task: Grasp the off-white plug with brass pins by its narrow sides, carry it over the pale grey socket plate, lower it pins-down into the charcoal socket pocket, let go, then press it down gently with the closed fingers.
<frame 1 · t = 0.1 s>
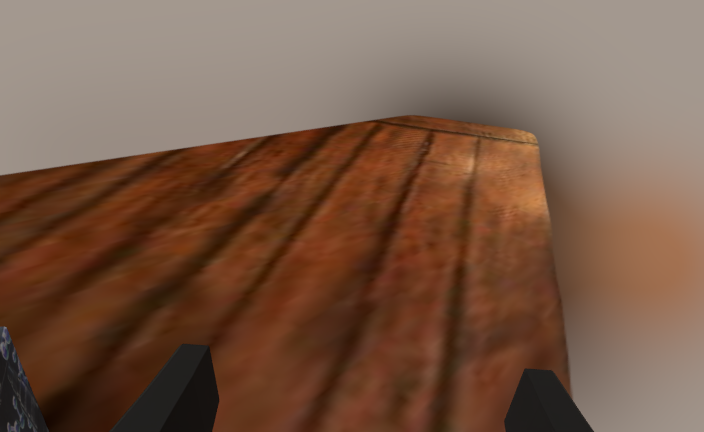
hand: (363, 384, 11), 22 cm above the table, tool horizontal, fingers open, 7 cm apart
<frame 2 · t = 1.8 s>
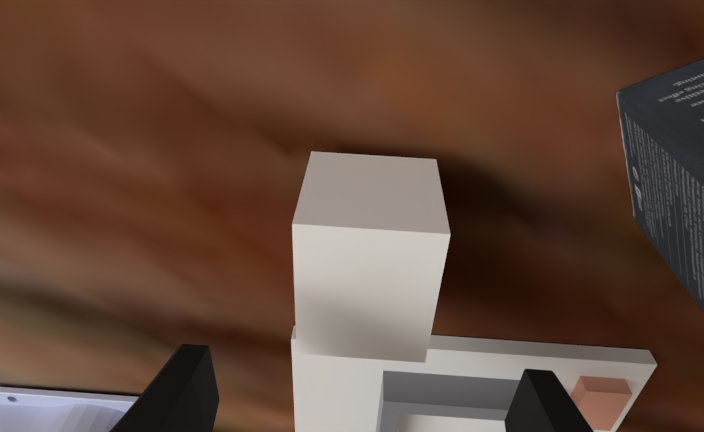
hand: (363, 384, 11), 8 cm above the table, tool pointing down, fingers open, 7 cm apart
plug: (369, 200, 18), on the table
socket plate: (449, 415, 25), on the table
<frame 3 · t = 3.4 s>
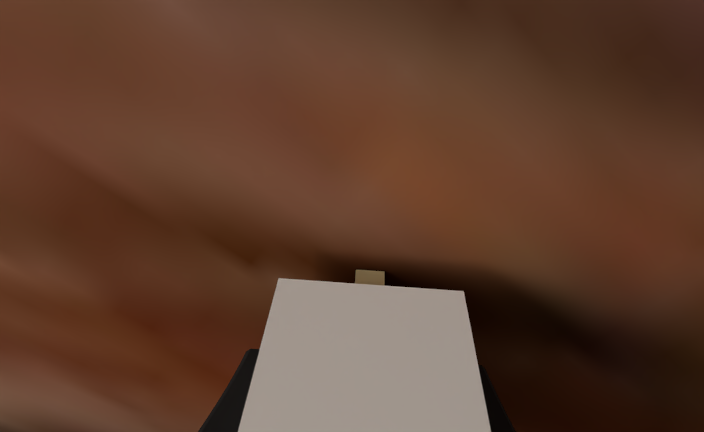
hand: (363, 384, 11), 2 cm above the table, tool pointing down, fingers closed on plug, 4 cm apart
plug: (365, 322, 13), on the table, touching gripper
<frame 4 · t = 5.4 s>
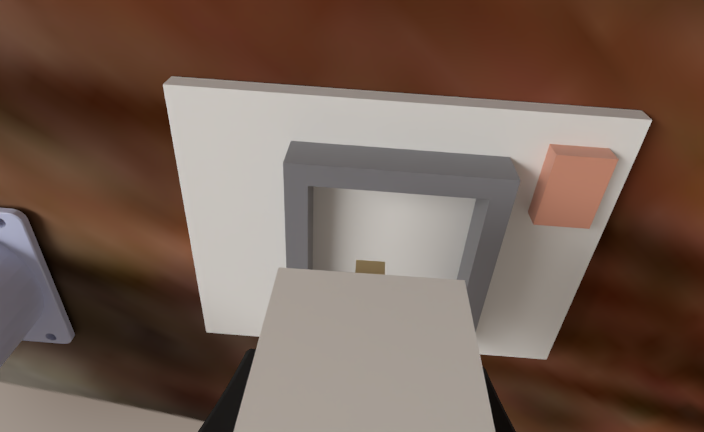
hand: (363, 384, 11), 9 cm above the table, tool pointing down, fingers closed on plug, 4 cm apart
plug: (366, 314, 13), point 7 cm above the table, touching gripper
socket plate: (387, 233, 20), on the table
when the fingers open (3 cm above the table, at t = 7.5 s): plug stays where it is, resting on socket plate.
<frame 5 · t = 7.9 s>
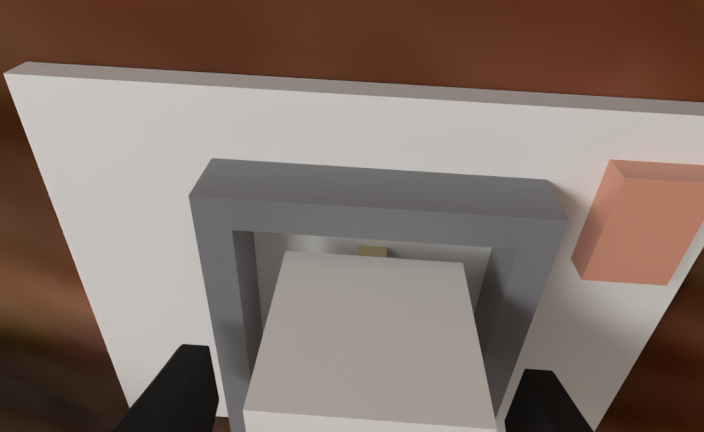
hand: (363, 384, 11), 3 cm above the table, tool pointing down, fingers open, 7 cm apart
plug: (368, 298, 13), point 1 cm above the table, touching socket plate
socket plate: (367, 284, 14), on the table
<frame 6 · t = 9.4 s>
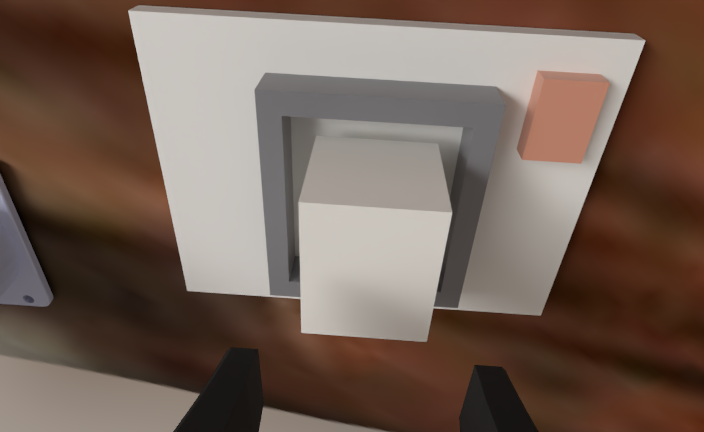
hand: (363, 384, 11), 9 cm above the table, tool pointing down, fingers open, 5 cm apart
plug: (372, 185, 18), point 1 cm above the table, touching socket plate
socket plate: (371, 179, 19), on the table
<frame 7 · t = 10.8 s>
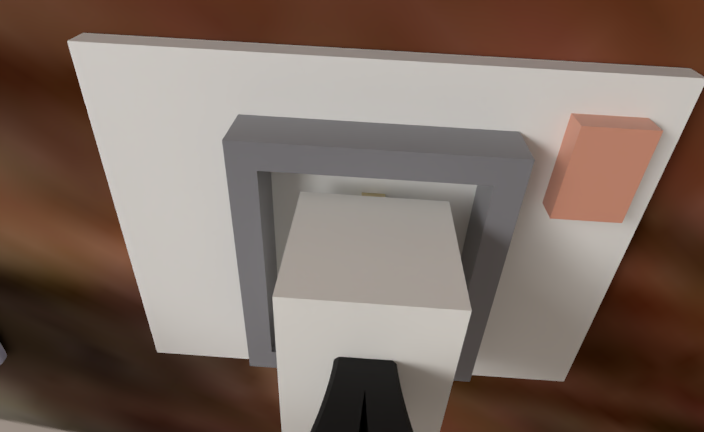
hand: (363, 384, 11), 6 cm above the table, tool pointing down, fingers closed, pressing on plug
plug: (369, 242, 15), point 1 cm above the table, touching gripper, socket plate
socket plate: (368, 232, 16), on the table
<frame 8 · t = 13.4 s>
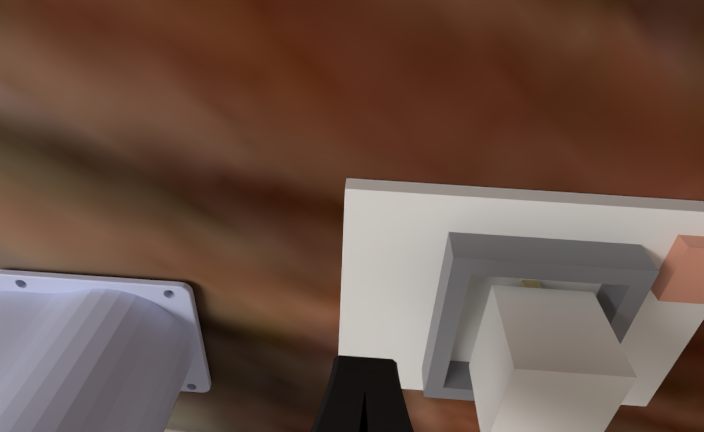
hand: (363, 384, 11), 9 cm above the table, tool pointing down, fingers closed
plug: (520, 310, 21), point 1 cm above the table, touching socket plate
socket plate: (514, 301, 22), on the table
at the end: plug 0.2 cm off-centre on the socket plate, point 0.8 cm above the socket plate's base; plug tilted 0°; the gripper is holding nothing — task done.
